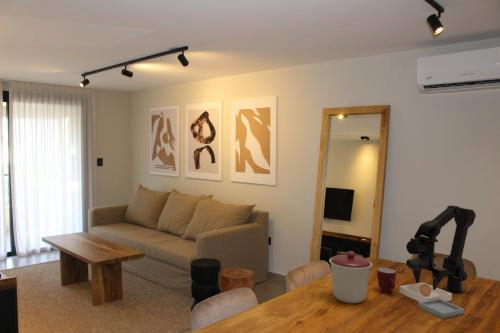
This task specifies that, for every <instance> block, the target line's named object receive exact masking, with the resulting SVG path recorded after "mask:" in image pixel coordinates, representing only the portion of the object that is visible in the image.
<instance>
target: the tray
mask: <svg viewBox="0 0 500 333" xmlns="http://www.w3.org/2000/svg"><path fill="white" fill-rule="evenodd" d="M417 308H419V309H421V310H423V311H425V312H427V313H429V314H431V315H434V316H436V317H438V318H439V319H442V320H445V319H450V318H453V317H454V318H455V317H458V316H463V315H465V309H464V308H462V307H460V306H457V305H456V304H453V303H451V302H449V301H444V300H441V299H439V298H438V299H433V300H427V301H422V302H419V301H417Z"/></svg>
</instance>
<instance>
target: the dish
mask: <svg viewBox="0 0 500 333" xmlns="http://www.w3.org/2000/svg"><path fill="white" fill-rule="evenodd" d="M422 284H427V285H429V286H430V287H431V293H430V294H429V295H427V296H425V295H422V294H421V293H420V291H419V287H420V286H421V285H422ZM398 292H399V294H401V295H404V296H406V297H408V298H410V299H412V300H414V301H417V302H422V301H427V300H433V299H438V298H439V299H441V300H444V301H446V302H449V301H452V299H453V298H452V297H453V294H452V292H450V291H446V290H445V289H444V290H443V289H441V288H439V287H437V288H436V289H435V290H433V285H430V284H428V283H425V282H420V283H412V284H406V285H399V291H398Z"/></svg>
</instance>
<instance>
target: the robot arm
mask: <svg viewBox="0 0 500 333" xmlns="http://www.w3.org/2000/svg"><path fill="white" fill-rule="evenodd" d="M476 216H477V215H476V212H475V210H473V209H470V208H465V207H460V206H458V205H448V206H447V207H446V209H445V210H443V211H441V213H440V214H438V215H437V216H435V217H434V218H433V219H430V220H426V221H423V222H422V223H421V224H420V225H419V226H418V229H417V231H416V232H415V234H414V236H413V238H410V240H409V241H408V242H407V243H406V245H405V246H406V247H405V249H406V251H407V252H408V254H410V255H417V257H416V258H409V259H407V260H406V261H405V262H406V263H405V266H407V268H408V269H410V271H412V272H411V273H412V274H413V276H414V280H415V281H414V282H415V284H417V283H419V282H420V278H421V273H422V270H426V271H429V272H431V278H432V286H433V290H435V289H436V288H438V286H439V284H440V283H441V281H442V280H443V279H444V278H446V277H447V280H446V287H443V289H444V290H445V291H446V290H447V292H450V293H453V294H461V293H465V292H466V290H464V289H463V282H466V281H467V280H468V274H467V272H466V271H465V270H464V268H465V263H464V261H463V259H462V258H463V253H464V248H465V245H466V240H467V235H468V231H469V228H470V227H471V226H472V225H473V224H474V221H475V219H476ZM451 220H454V222H455V224H456V227H455V229H454V235H453V239H452V240H453V241H452V243H451V248H450V253H449V255H448V256H447V257H444V258H443V263H442V267H441V266H440V267H436V266H437V264H436V263H435V258H437V254H435V248H436V246H435V245H436V243H439V240H438V239H437V237H438V236H439V235H440V233H441V231H442V230H441V229H442V228H444V226H446V225H447V224H448V223H449V222H451Z"/></svg>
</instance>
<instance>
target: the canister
mask: <svg viewBox="0 0 500 333" xmlns="http://www.w3.org/2000/svg"><path fill="white" fill-rule="evenodd" d="M328 261H329V263H330V272H331V286H332V287H331V288H332V293H333V295H334V297H335V299H336V300H338V301H340V302H342V303H343V302H344V303H346V304H359V303H362V302H363V301H364V300H365V298H366V296H367V292H368V287H369V286H368V285H369V279H370V274H371V268H372V267H373V263H372V262H371V261H370V260H369V259H367V258H366V257H363V256H359V255H356V253H355V252H354V251H352V250H349V251H347V252H346V254H338V255H334V256H332V257H330V258H329V260H328Z"/></svg>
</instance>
